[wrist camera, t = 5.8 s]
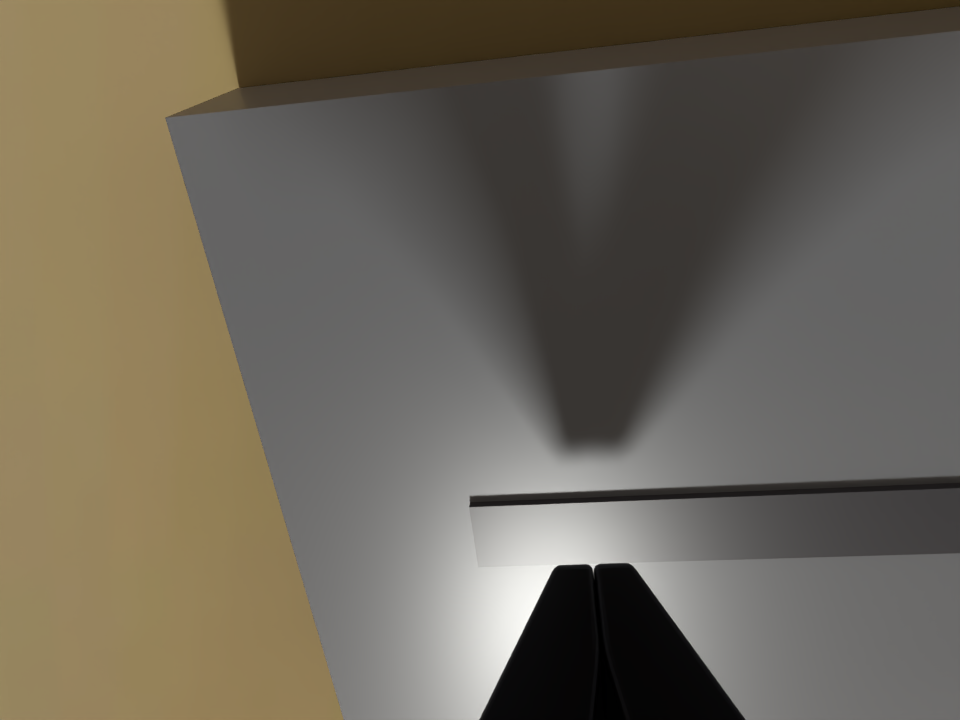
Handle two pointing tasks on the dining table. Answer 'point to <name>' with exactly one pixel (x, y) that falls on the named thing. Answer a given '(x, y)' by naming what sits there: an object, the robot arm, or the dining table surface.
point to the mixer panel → (611, 353)
